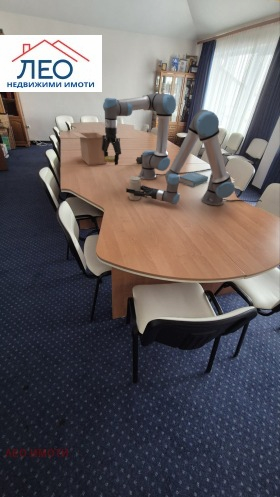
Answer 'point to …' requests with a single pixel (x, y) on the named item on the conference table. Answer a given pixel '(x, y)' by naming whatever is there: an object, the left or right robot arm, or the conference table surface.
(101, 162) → the box
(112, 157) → the lid
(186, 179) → the book
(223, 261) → the conference table surface
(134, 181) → the jar
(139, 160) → the laser sight
